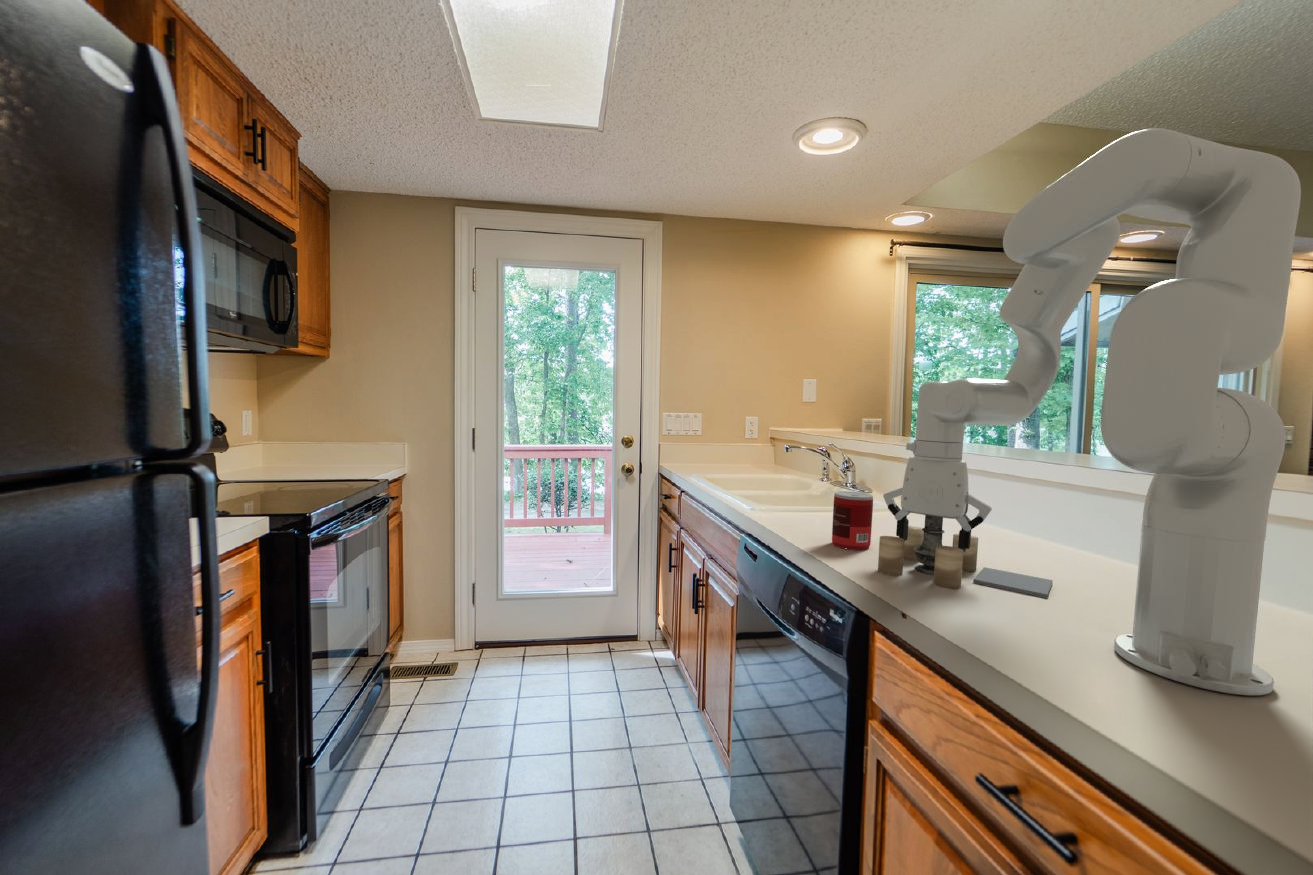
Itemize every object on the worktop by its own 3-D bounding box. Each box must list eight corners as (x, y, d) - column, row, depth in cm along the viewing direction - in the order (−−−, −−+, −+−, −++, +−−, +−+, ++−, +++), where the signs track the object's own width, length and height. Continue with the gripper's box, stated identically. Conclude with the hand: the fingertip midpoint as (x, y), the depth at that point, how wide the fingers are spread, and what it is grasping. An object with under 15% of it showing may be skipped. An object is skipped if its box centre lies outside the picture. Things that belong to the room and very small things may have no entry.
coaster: (1047, 598, 81) (1047, 594, 81) (973, 582, 88) (973, 579, 88) (1052, 583, 89) (1052, 580, 89) (983, 570, 95) (984, 567, 95)
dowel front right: (958, 590, 84) (960, 553, 83) (930, 584, 86) (933, 548, 86) (963, 584, 87) (965, 549, 86) (936, 578, 89) (938, 544, 89)
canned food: (873, 545, 112) (876, 493, 111) (866, 552, 105) (869, 498, 104) (836, 539, 116) (839, 489, 115) (827, 546, 109) (830, 494, 108)
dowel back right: (973, 573, 93) (976, 540, 93) (948, 568, 96) (950, 536, 96) (978, 568, 96) (980, 536, 96) (953, 563, 99) (955, 532, 99)
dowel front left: (898, 577, 89) (900, 542, 89) (874, 571, 92) (876, 538, 92) (905, 572, 92) (907, 538, 92) (882, 567, 95) (883, 534, 95)
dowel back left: (919, 562, 99) (921, 531, 99) (897, 557, 102) (898, 527, 102) (924, 558, 102) (926, 528, 102) (903, 554, 105) (905, 524, 105)
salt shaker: (957, 574, 92) (961, 507, 92) (932, 577, 90) (937, 508, 89) (928, 564, 98) (932, 501, 97) (905, 567, 95) (909, 502, 95)
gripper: (880, 448, 96) (874, 540, 97) (991, 457, 84) (983, 561, 85) (893, 447, 101) (887, 534, 102) (998, 455, 90) (991, 552, 91)
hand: (931, 546), depth 94 cm, fingers open, 9 cm apart
